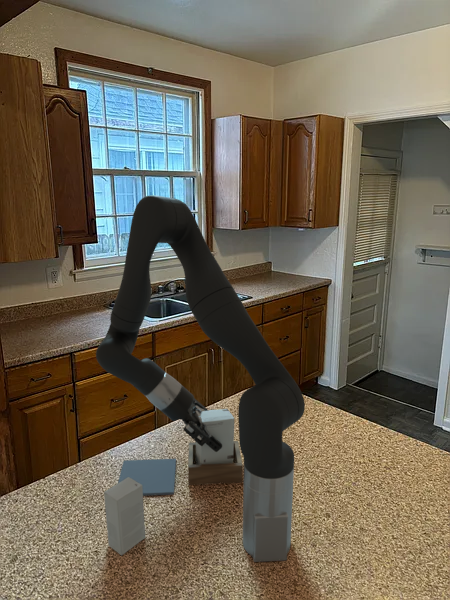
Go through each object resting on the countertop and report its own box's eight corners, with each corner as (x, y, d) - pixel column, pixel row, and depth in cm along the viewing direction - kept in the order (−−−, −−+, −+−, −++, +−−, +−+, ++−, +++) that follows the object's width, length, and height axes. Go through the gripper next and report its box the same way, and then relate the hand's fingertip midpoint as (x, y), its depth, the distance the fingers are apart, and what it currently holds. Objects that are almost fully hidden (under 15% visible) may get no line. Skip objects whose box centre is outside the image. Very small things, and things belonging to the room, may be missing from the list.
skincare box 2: (200, 480, 106) (200, 423, 102) (194, 466, 111) (194, 411, 108) (234, 474, 108) (235, 417, 104) (227, 460, 114) (227, 406, 110)
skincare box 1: (131, 528, 91) (129, 475, 88) (146, 538, 88) (143, 484, 85) (106, 545, 86) (103, 491, 83) (120, 557, 83) (117, 501, 81)
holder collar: (242, 482, 105) (242, 465, 104) (188, 484, 104) (188, 467, 103) (238, 456, 115) (238, 440, 114) (189, 458, 114) (188, 442, 113)
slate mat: (173, 494, 101) (173, 492, 101) (115, 496, 100) (114, 494, 100) (176, 460, 113) (176, 458, 113) (123, 462, 112) (123, 460, 112)
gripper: (179, 398, 97) (232, 444, 100) (181, 373, 111) (227, 414, 114) (155, 422, 98) (208, 466, 101) (160, 393, 111) (206, 433, 115)
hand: (218, 438), depth 108 cm, fingers open, 8 cm apart
